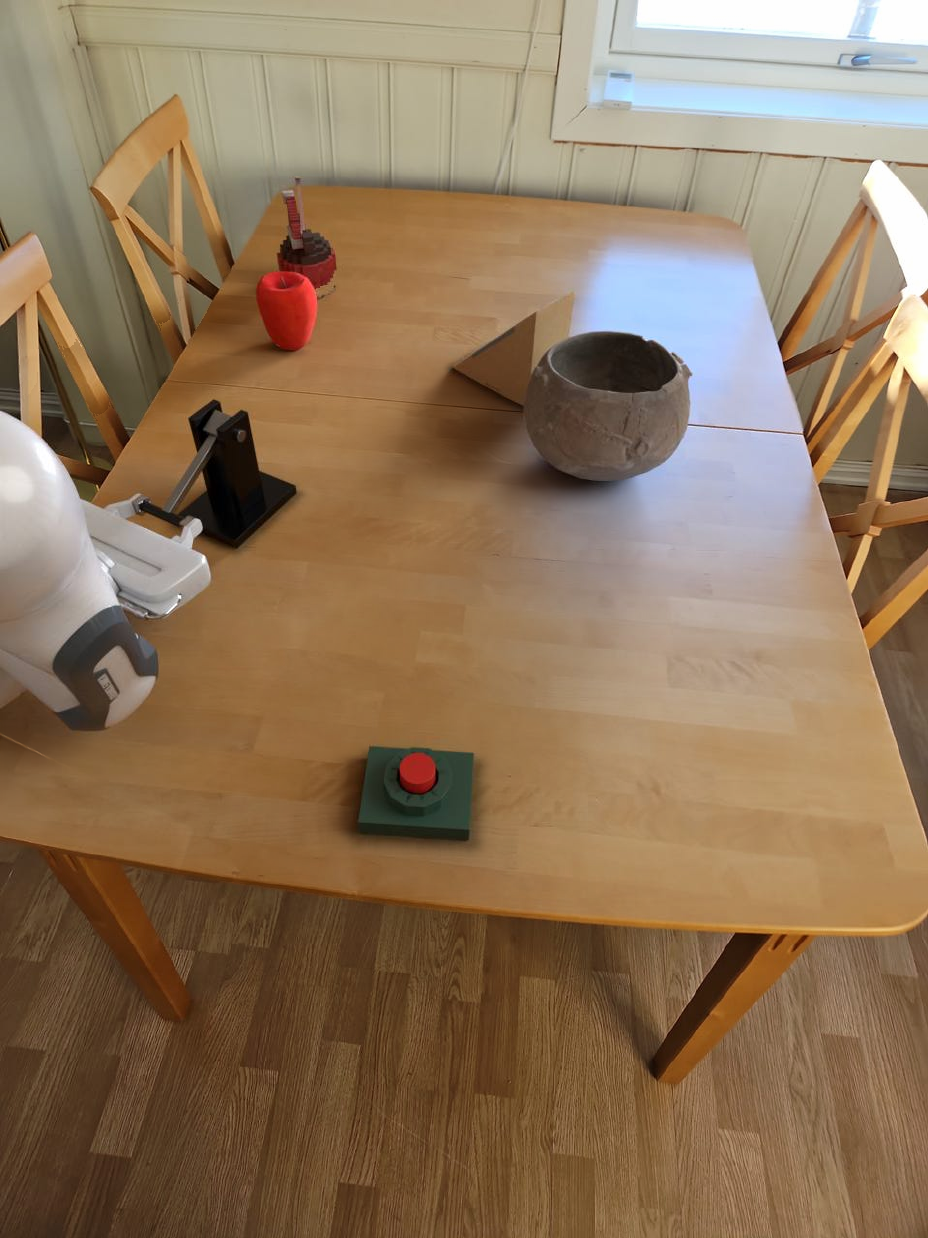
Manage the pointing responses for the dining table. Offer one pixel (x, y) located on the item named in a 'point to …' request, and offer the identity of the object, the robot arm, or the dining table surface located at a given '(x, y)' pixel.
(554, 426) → the clay pot
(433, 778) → the button
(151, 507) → the lever
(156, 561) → the robot arm
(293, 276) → the apple
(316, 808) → the dining table surface
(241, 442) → the bracket
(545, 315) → the sandwich container
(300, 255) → the cake
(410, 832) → the button box
